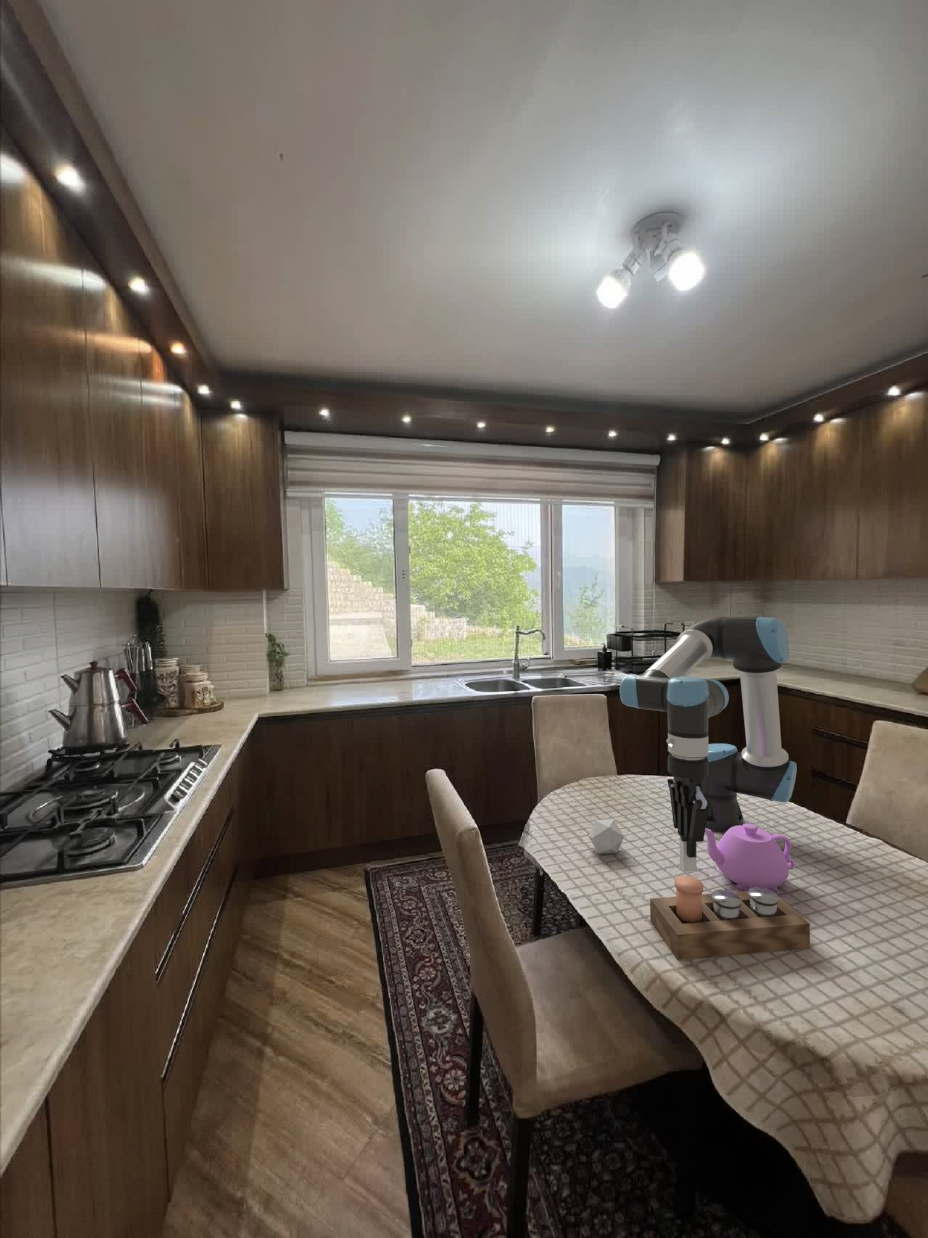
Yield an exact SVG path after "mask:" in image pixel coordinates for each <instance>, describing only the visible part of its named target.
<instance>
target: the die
mask: <svg viewBox="0 0 928 1238" xmlns="http://www.w3.org/2000/svg"><path fill="white" fill-rule="evenodd" d="M592 823H593V824H592V826H591V829H590V831H589V834H588V838H589V840H590V841H591V843H592V845H593V847H594V849H595V850H596V853H597V854H598V855H599V854H601V855H602V854H618V853H619V850H620V848H621V845H622V843H623V841H624V838H625V835H624V834H623V832H622V830H621V829H620V828H619V826H618V824H617V823H616V821H615V819H595V820H594V821H593V822H592Z"/></svg>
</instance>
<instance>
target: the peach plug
mask: <svg viewBox="0 0 928 1238" xmlns="http://www.w3.org/2000/svg"><path fill="white" fill-rule="evenodd" d="M674 887H675V888H676V889H675V890H676V891H675V897H676V914H677V916H678V917H679V918H680V919H682V920H683V921H686V922H690V923H697V922H700V921H701V920H702V894H703V892H704V883H703V882H702V881H701V880H700V879H698V878H696V877H694V876H689V875H680V876H679V875H678V876H677V877H675V878H674Z"/></svg>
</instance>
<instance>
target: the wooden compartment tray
mask: <svg viewBox="0 0 928 1238" xmlns="http://www.w3.org/2000/svg"><path fill="white" fill-rule="evenodd" d="M769 890H770V889H769ZM732 892H733V893H735V894H737V895H738V896H739V897H740V898H741V906H740V919H735V920H723V921H721V920H720V919H719V918H718V917H717V916H716V915H715V914H714V909H713V900H712V893H705V894H703V893H702V920H701V921H700V922H697V923H690V922H686V921H683V920H682V919H680V918H679V917H678V916H677V914H676V896H665V897H655V898H652V897H651V898H649V907H650V908H649V909H650V911H649V912H650V915H649V916H650V920H649V922H650V923H651V924H652V925H653V927H654V929H655V930H656V932H658V934H659V936H660V937H661V939H663V941H664V943H665V944H666V945H667V947H668V948H669V950H670V951H671V952H672V954H673V955H674V957H675V958H676V959H677V961H680V960H681V961H682V960H692V959H705V958H715V957H724V956H725V957H726V956H735V955H737V956H738V955H748V954H759V953H760V954H761V953H771V952H781V951H783V952H784V951H792V950H793V951H794V950H803V949H804V950H805V949H811V932H810V931H811V923H810V922H809V921H808V920H807V919H805V918H804V917H803V916H802V915H800V913H798V912H797V911H796V910H795V909H794V908H792V907H791V906H790V905H789V904H788V903H786V902H785V901H784V900H783V899H782V898H780V897H779V902H778V904H777V916H771V917H758V916H757V915H756V914H755V913H754V912H753V911H752V910H751V909H750V897H749V891H732Z"/></svg>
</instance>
